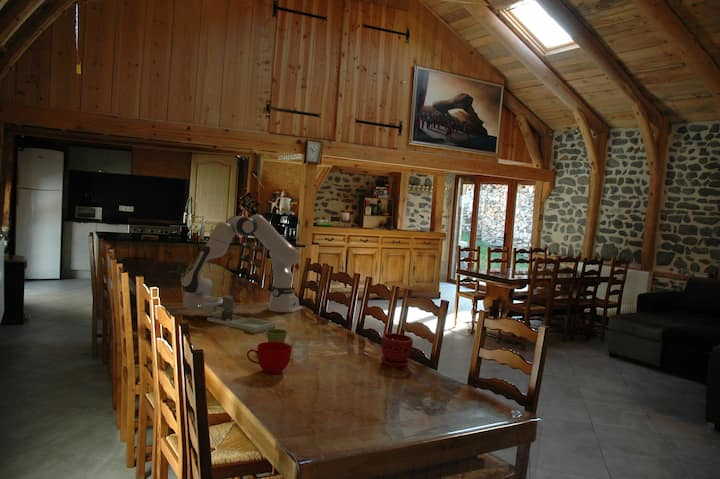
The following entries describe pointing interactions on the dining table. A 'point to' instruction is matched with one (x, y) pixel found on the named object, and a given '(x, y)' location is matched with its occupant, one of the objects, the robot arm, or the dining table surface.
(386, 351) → the plant pot
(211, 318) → the tray
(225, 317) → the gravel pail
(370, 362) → the dining table surface
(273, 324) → the bin
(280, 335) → the plant pot
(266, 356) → the ceramic cup
